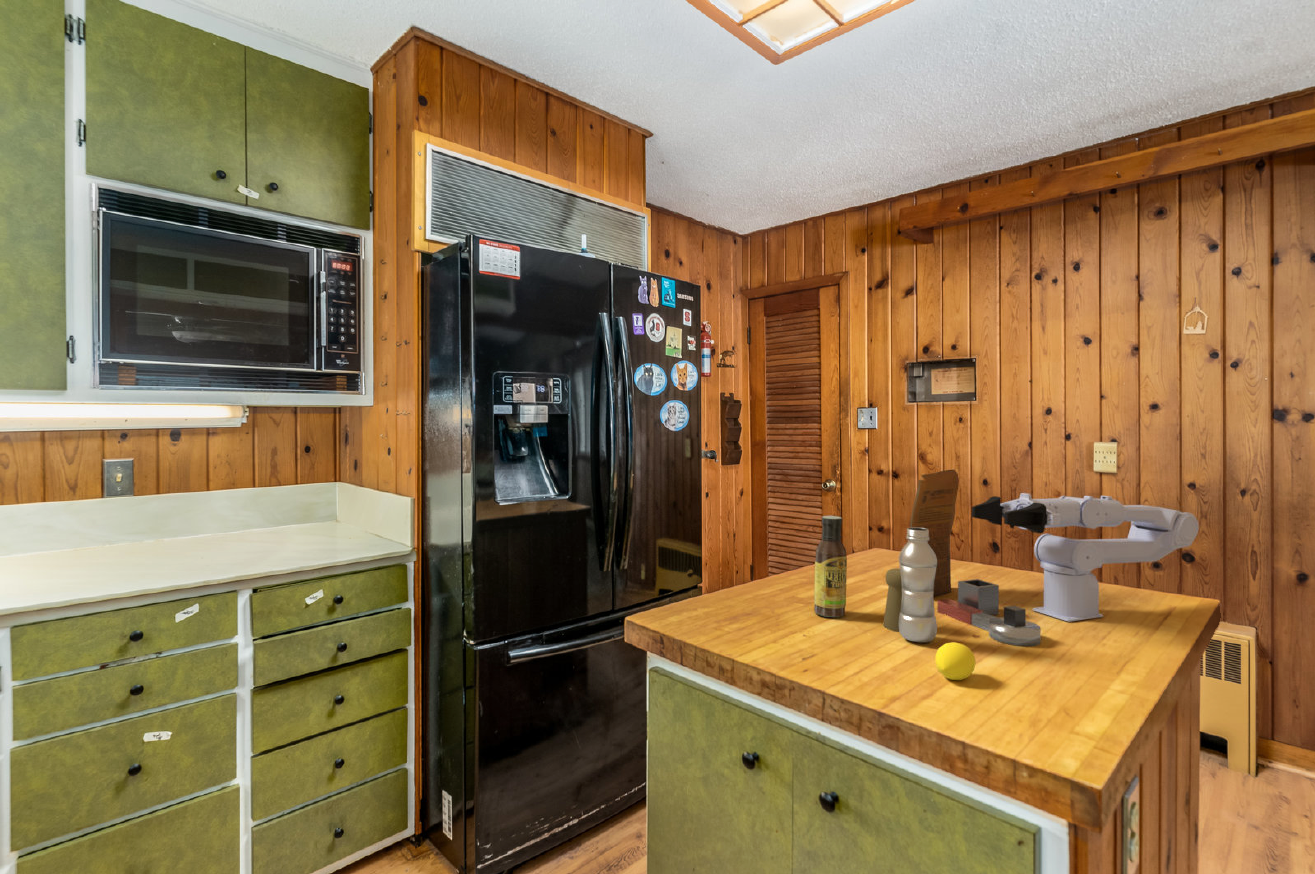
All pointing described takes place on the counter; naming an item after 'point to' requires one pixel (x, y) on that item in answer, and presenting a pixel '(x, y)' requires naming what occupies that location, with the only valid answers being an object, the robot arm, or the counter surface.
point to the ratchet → (996, 622)
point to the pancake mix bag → (937, 520)
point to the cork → (893, 600)
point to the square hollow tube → (979, 595)
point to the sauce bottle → (830, 570)
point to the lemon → (955, 661)
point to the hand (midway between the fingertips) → (988, 515)
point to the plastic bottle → (917, 587)
